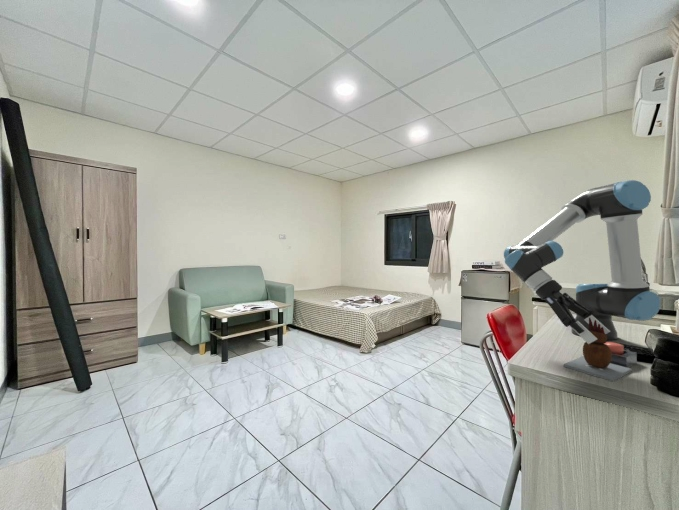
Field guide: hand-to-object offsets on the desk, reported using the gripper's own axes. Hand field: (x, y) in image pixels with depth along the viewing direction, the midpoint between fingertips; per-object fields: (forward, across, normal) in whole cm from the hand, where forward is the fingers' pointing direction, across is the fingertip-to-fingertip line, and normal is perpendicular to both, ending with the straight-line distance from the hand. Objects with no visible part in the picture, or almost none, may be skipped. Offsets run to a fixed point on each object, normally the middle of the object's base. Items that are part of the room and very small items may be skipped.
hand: (600, 337), depth 87 cm
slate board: (+7, 0, -8) cm, 10 cm away
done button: (+5, -13, -5) cm, 15 cm away
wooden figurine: (+6, 0, -7) cm, 10 cm away
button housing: (+7, -13, -7) cm, 17 cm away
